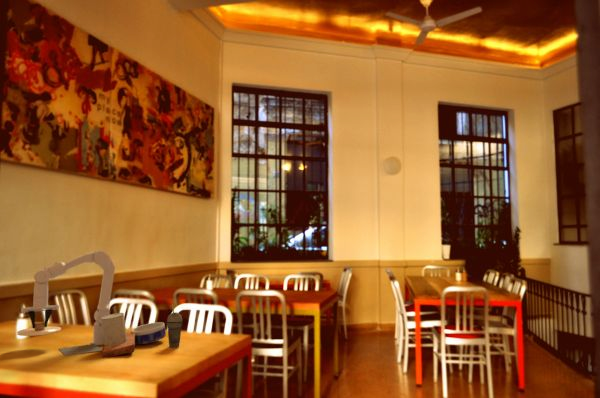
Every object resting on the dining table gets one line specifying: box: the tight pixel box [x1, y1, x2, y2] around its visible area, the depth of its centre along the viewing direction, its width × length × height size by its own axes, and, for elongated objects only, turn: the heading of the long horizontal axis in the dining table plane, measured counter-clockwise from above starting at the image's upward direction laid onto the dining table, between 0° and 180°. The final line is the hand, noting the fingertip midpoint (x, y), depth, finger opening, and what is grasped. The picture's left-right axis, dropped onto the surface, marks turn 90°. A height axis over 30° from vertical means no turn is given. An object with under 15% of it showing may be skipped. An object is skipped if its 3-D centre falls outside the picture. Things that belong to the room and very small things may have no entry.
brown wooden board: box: [101, 330, 136, 358], centre depth 205 cm, size 13×30×3 cm, turn 19°
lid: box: [16, 321, 62, 337], centre depth 203 cm, size 17×17×4 cm
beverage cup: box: [166, 302, 183, 349], centre depth 211 cm, size 7×7×20 cm
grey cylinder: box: [101, 312, 127, 347], centre depth 203 cm, size 10×10×12 cm
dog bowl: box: [131, 321, 167, 345], centre depth 220 cm, size 15×15×6 cm
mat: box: [58, 343, 103, 357], centre depth 202 cm, size 15×15×1 cm
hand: (39, 327), depth 203 cm, fingers closed on lid, 4 cm apart
